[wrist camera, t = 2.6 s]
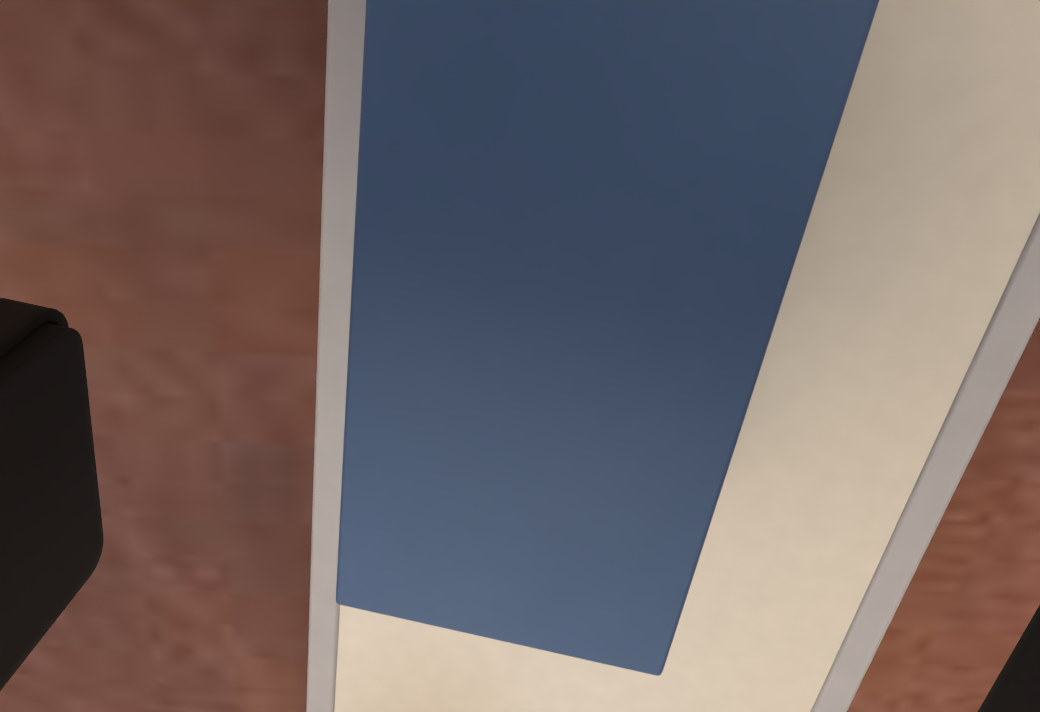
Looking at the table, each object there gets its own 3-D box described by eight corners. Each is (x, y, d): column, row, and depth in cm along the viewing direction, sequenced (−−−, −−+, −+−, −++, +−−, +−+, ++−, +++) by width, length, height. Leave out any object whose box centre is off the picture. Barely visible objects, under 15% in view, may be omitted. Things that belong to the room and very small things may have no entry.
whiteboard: (368, -395, 14) (338, -407, 13) (1269, -253, 13) (1321, -252, 12) (318, 765, 28) (302, 807, 27) (747, 866, 27) (749, 913, 26)
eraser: (481, -244, 13) (375, -235, 9) (856, -181, 13) (926, -141, 9) (416, 416, 19) (334, 605, 15) (672, 469, 19) (661, 679, 15)
